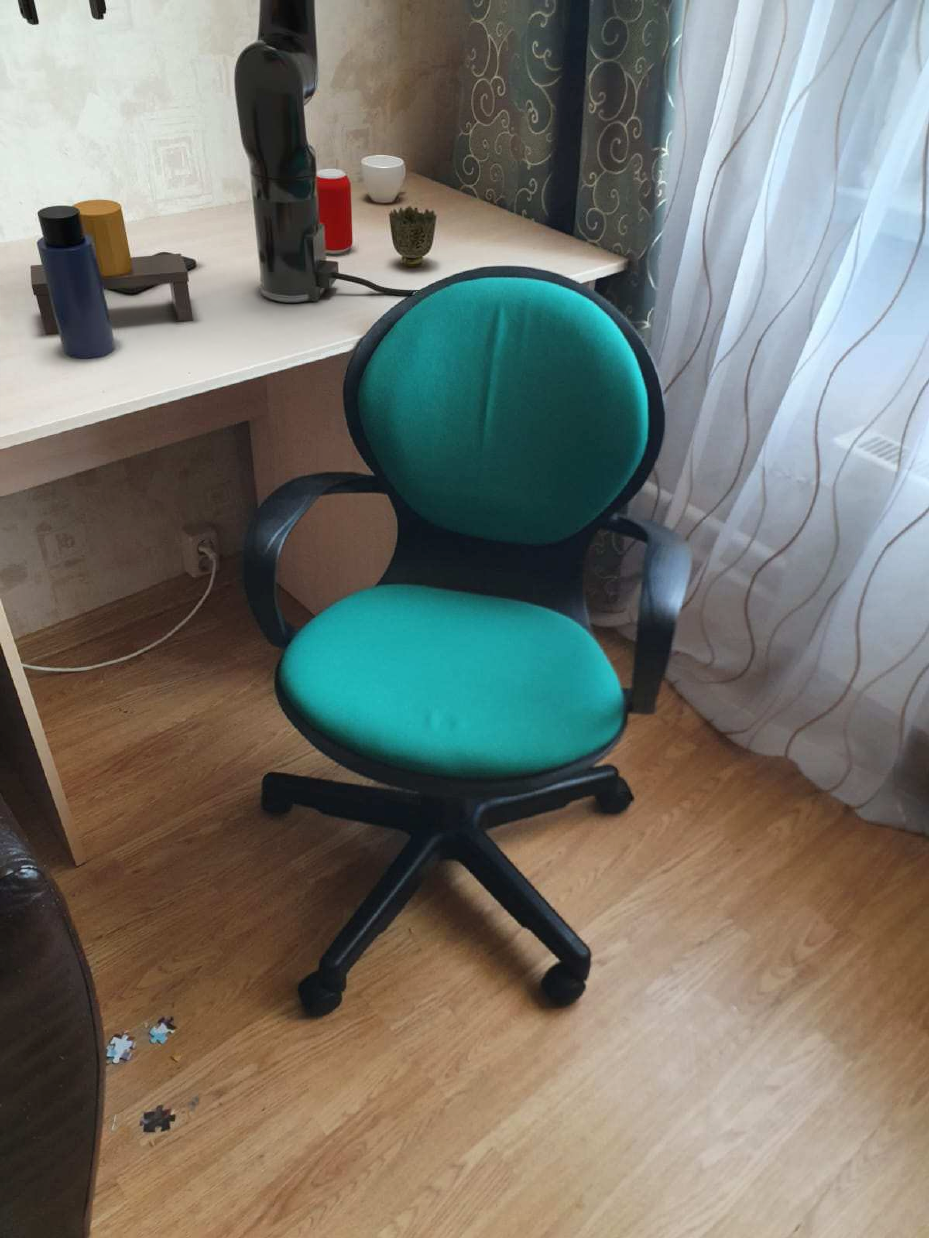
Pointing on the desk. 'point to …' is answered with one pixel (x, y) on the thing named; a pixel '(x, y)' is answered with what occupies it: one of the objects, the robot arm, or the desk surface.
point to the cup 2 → (412, 234)
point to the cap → (106, 235)
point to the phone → (188, 263)
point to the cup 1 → (383, 177)
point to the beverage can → (335, 209)
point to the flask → (74, 284)
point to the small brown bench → (127, 284)
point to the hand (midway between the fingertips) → (66, 21)
